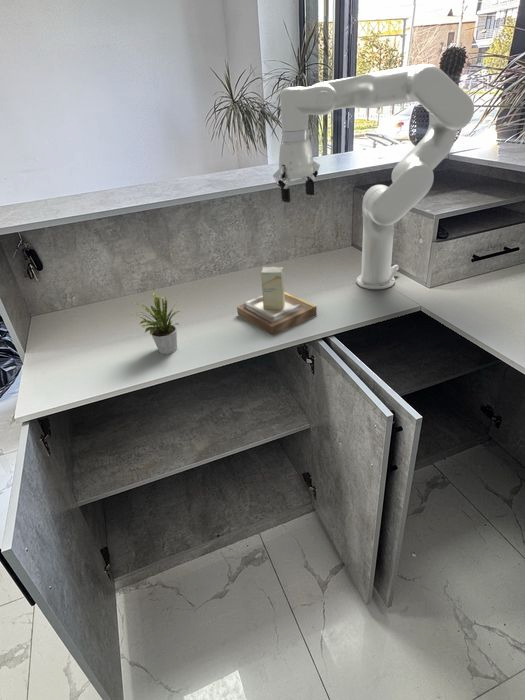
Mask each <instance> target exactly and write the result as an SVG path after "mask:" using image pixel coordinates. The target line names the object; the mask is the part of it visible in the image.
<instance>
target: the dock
mask: <svg viewBox="0 0 525 700" xmlns="http://www.w3.org/2000/svg"><path fill="white" fill-rule="evenodd" d="M284 295H285V305H284V308H283V310H267V309H264V307H263V294H262V295H260V296H258V297H254V298H252V299H250V300H247V301H244V302H243V303H242V304H240V305H238V306H236V310H237V311H236V312H237V316H239V317H240V318H242V319H243V320H245V321H247V322H248V323H250V324H252V325H254V326H256V327H257V328H259V329H261V330H262V331H264V332H266V333H267V334H269V335H271V336H273V337H274V336H275V335H277V334H280V333H282V332H284V331H286V330H289V329H291V328H293V327H295V326H297V325H300V324H302V323H303V322H305V321H307V320H311V319H312V318H314V317H316V316H318V315H317V314H318V313H317V309H318V308H317V305H315V304H312V303H311V302H308V301H306V300H304V299H302V298H301V297H298V296H296V295H293V294H291V293H289V292H287V291H285V290H284Z"/></svg>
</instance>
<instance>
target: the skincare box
mask: <svg viewBox="0 0 525 700" xmlns="http://www.w3.org/2000/svg"><path fill="white" fill-rule="evenodd" d="M260 278H261V279H260V280H261V281H260V282H261V293H262V295H263V307H264V309H267V310H283V308H284V305H285V295H284V291H285V279H284V278H285V277H284V267H283V266H262V269H261V270H260Z"/></svg>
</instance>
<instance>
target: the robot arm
mask: <svg viewBox="0 0 525 700" xmlns="http://www.w3.org/2000/svg"><path fill="white" fill-rule="evenodd" d="M279 100H280V104H279V105H280V114H281V115H280V117H281V118H280V119H281V120H280V121H281V134H282V143H280V146H279V152H278V153H279V154H278V169H277V170H276V171H275V173H274V174H273V175H272V177H273V180H274V181H275V184H276V185H277V186H278V187H279V189H280V191H281V192H280V193H281V202H284V203H290V202H291V192H290V190H291V189H290V188H289V186H290V184H291V182H293V181H297V180H301V179H304V178H305V179H306V180H305V193H306V195H308V196H315V182H316V178H317V176H318V175H319V169H320V166H321V165H320V163H318V162H315V161H314V156H313V149H312V148H313V147H312V143H311V140H310V138H309V137H310V135H311V130H310V129H309V115H311V116H313V115H314V116H325V115H329V114H330V113H331V112H332V111H335V110H340V109H341V110H342V109H350V108H351V109H352V108H359V109H377V108H382V107H389V106H395V105H402V104H407V103H415V102H416V103H419V104H420V106H422V107H423V109H425V110H426V111H427V112H428V118H429V123H428V127H427V131H426V133H425V134H424V136H423V138H421V140H420V141H419V142H418V143H417V144H416V145H415V146H414V147H413V148H412V149H411V150H410V151H409V152H408V153H406V155H405V156H404V157H403V158H402V159H401V160H400V161H399V162H398V163H397V164H396V165H395V166H394V167H393V169H392V172H391V182H392V183H391V184H390V185H389V186H388V185H385V184H375V185H372V186H370V188H368V189H367V190H366V192H365V194H364V195H363V198H362V204H361V205H362V206H361V207H362V229H363V230H362V246H361V247H362V248H361V250H362V251H361V274H359V276H357V277H356V283H357V285H358V286H360V287H361V288H363V289H368V290H384V289H388V288H390V287H393V286H394V284H395V281H396V279H395V276H393V273H394V272H396V271H399V269H400V266H399V265H398V264H394V265H392V259H393V257H392V256H393V245H394V244H393V243H394V230H395V223H397V222H399V220H401V219H402V218H403V217H405V215H406V214H407V213H409V211H410V210H412V209H413V208H414V207H415V206H416V205H417V204H418V203H419V202H420V201H421V200H422V199H423V198H424V197H426V195H427V194H428V193H429V191H430V190H431V188H432V186H433V184H434V180H435V179H434V178H435V177H434V171H433V170H434V169H435V168H437V166H438V165H439V164H440V163H441V162H442V161H443V160H444V159H445V158H446V157H447V155H448V154H449V153H450V151H451V149H452V148H453V146H454V145H455V144H454V143H455V140H456V136H457V133H458V132H457V131H458V130H462V129H464V128H465V127H466V126H468V125H469V123H470V122H471V121H472V118H473V116H474V113H475V106H474V101H473V100H472V98H471V97H470V95H468V93H466V91H464V90H463V89H462V88H461V87H460V86H459V85H458V84H457V83H456V82H454V81H453V80H452V78H450V77H449V76H448V75H447V74H446V73H445V71H443V70H442V69H441V68H440V67H438V66H436V65H434V64H431V63H430V64H429V63H428V64H415V65H410V66H409V65H408V66H403V67H397V68H390V69H385V70H378V71H373V72H368V73H363V74H359V75H357V76H356V75H355V76H351V77H350V76H349V77H345V78H339V79H333V80H327V81H322V82H321V81H320V82H317V83H314V84H313V85H311V86H299V85H298V86H289V87H288V86H287V87H285V88H282V89H281V90H280V93H279Z"/></svg>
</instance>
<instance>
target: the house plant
mask: <svg viewBox="0 0 525 700" xmlns="http://www.w3.org/2000/svg"><path fill="white" fill-rule="evenodd" d="M152 294H153V302H154V306H153V305H150V308H151V310H150V309H149V307H147V306H146V305H144V304H141V303H137V302H133V304H135V305H138V306H140V307H142V309H144V310H145V311H146V312H148V313H147V314H148V315H147V314H146V313H145V312H143V316H145V317H142V316H139V315H140V314H142V312H135V313H132V314H131V316H133V315H136V317H138V318H140V319H142V320H141V321H140V322H139V325H141V324H142V325H141V329H143V328H145V331H144V333H147V332H148V331H149V335H150V336H152V337H151V338H152V340H153V341H154V343H155V346H156V348H157V349H158V352H159V353H160V354H162V355H170V354H173V353H174V352H176V351H177V350H178V336H177V335H178V334H177V333H178V332H177V331H178V330H177V327H176V325H177V326H180V325H179V323H178V322H176V323H174V324H172V323H173V320H171V319H172V318H173V317H174V316H175V315H176V314H177V313H178V312H181V311H180V310H176V309H177V307H175V305H176V304H177V302H175V303H174V305H173V307H172V308H171V310H170V311H169V313H168V299H167V297H166V296H165V298H164V296H163V295H161V294H159V295H158V296H157V294H156V292H155V291H153V293H152ZM160 296H161V298H160ZM161 307H162V309H161ZM174 307H175V308H174ZM174 310H176V311H174ZM173 311H174V312H173ZM172 312H173V313H172ZM150 317H151V318H152V319H151V318H150ZM153 319H154V320H155V321H154V320H153Z"/></svg>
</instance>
